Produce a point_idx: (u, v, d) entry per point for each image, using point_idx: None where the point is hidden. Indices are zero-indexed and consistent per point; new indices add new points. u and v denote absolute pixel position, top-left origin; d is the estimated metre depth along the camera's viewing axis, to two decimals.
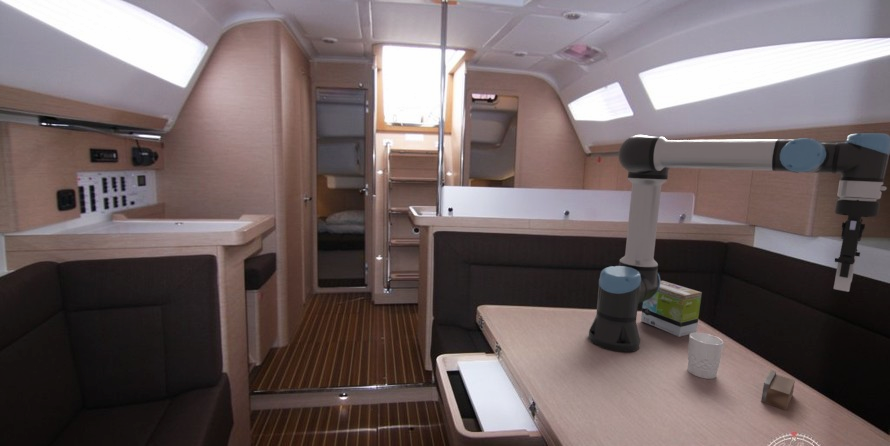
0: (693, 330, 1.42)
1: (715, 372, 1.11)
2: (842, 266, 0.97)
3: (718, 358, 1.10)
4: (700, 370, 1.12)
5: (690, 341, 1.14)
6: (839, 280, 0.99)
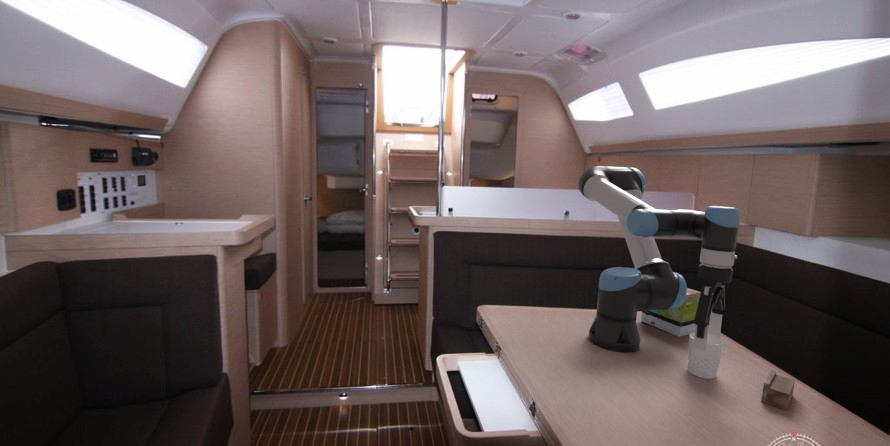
0: (693, 330, 1.42)
1: (715, 372, 1.11)
2: (698, 328, 1.07)
3: (718, 358, 1.10)
4: (700, 370, 1.12)
5: (690, 341, 1.14)
6: (697, 340, 1.08)
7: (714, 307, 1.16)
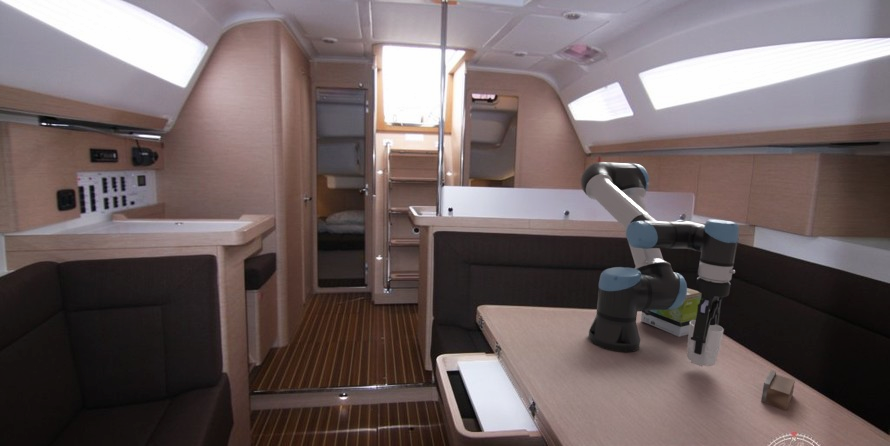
0: None
1: (714, 359, 1.12)
2: (696, 344, 1.10)
3: (718, 345, 1.11)
4: None
5: (690, 328, 1.14)
6: (694, 355, 1.12)
7: None
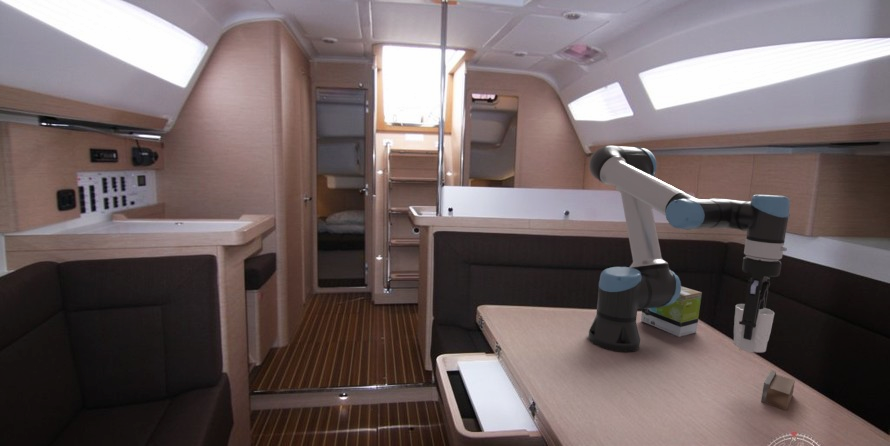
0: (693, 330, 1.42)
1: (765, 345, 1.03)
2: (745, 329, 1.02)
3: (769, 330, 1.02)
4: None
5: (737, 312, 1.06)
6: (743, 341, 1.03)
7: None
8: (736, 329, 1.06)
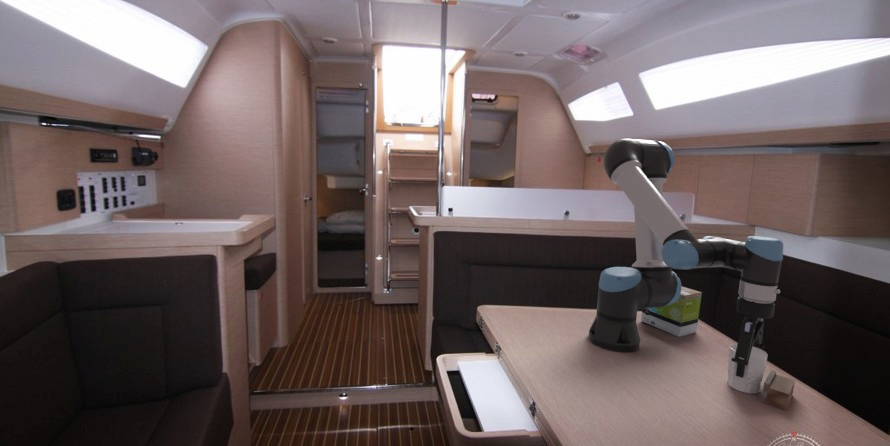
0: (693, 330, 1.42)
1: (758, 386, 1.05)
2: (738, 366, 1.01)
3: (762, 372, 1.04)
4: None
5: (731, 353, 1.07)
6: (736, 378, 1.03)
7: None
8: (730, 369, 1.08)
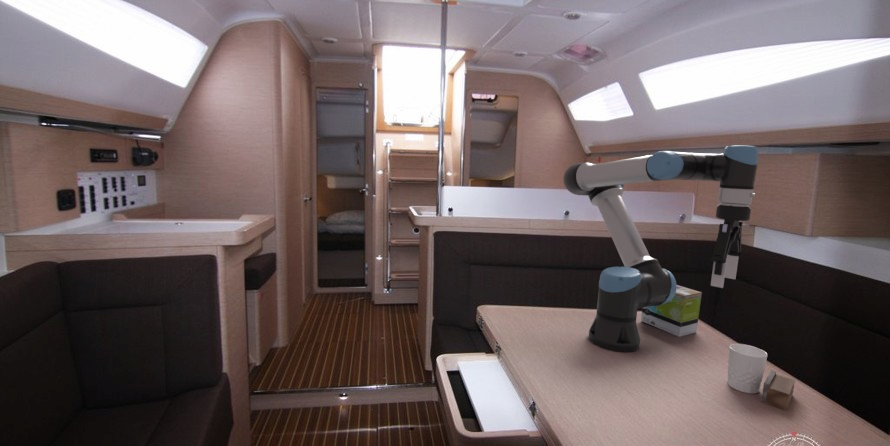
0: (693, 330, 1.42)
1: (758, 386, 1.05)
2: (716, 265, 1.08)
3: (762, 371, 1.04)
4: (742, 385, 1.05)
5: (731, 353, 1.07)
6: (714, 277, 1.10)
7: (730, 249, 1.18)
8: (730, 369, 1.08)
